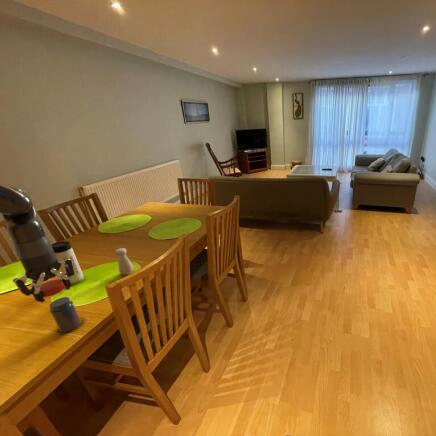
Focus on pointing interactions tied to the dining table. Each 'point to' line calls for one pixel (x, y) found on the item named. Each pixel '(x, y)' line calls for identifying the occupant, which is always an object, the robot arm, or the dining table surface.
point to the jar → (65, 314)
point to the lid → (52, 287)
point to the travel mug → (66, 251)
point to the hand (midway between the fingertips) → (55, 294)
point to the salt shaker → (123, 262)
